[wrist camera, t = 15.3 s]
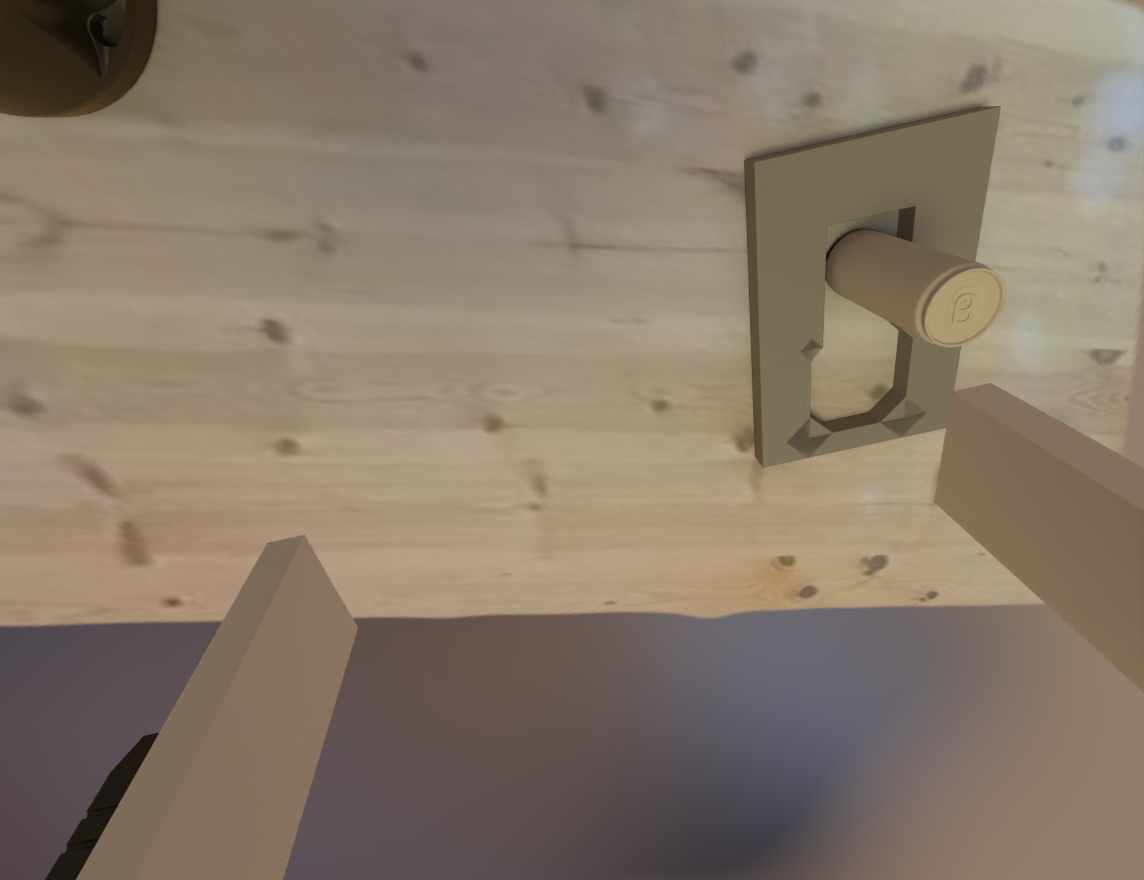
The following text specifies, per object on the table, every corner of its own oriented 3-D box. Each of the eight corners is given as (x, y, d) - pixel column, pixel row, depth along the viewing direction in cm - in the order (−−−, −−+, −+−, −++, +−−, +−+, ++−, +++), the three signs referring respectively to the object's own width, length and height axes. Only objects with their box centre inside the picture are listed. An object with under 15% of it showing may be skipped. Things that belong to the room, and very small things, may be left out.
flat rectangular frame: (744, 160, 38) (754, 162, 36) (980, 106, 38) (1000, 106, 36) (755, 456, 50) (763, 467, 48) (933, 417, 50) (947, 427, 48)
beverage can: (888, 221, 41) (1017, 257, 30) (881, 287, 43) (998, 340, 33) (822, 234, 41) (929, 275, 30) (819, 299, 43) (917, 357, 33)
